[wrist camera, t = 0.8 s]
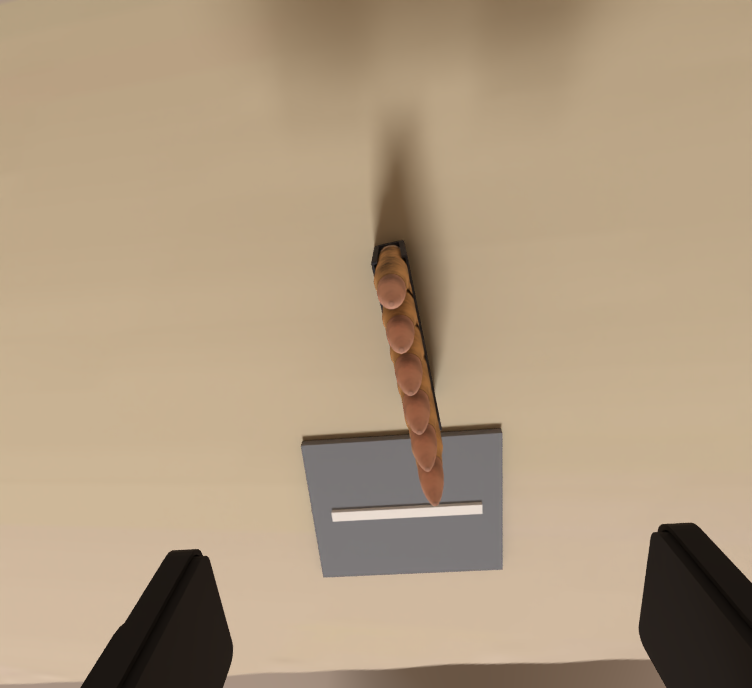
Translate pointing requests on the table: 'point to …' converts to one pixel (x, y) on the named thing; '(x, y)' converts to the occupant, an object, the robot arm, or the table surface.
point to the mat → (405, 505)
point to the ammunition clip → (410, 363)
